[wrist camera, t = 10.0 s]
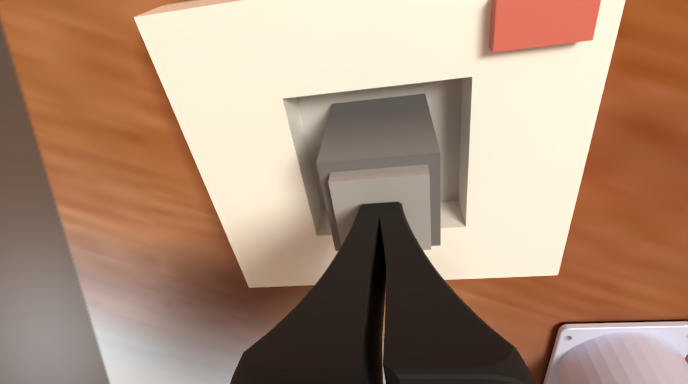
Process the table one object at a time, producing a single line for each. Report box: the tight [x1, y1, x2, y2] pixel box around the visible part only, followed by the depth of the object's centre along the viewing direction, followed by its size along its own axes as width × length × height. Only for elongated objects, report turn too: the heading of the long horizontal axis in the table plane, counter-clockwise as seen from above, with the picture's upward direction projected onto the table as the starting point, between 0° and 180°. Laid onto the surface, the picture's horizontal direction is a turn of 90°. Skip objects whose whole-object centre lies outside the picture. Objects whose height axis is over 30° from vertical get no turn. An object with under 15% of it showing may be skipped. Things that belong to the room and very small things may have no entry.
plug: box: [316, 94, 441, 251], centre depth 15 cm, size 4×4×6 cm
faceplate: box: [134, 0, 625, 288], centre depth 17 cm, size 14×16×3 cm
